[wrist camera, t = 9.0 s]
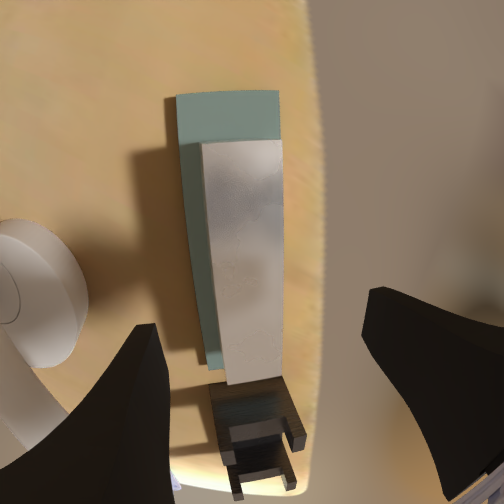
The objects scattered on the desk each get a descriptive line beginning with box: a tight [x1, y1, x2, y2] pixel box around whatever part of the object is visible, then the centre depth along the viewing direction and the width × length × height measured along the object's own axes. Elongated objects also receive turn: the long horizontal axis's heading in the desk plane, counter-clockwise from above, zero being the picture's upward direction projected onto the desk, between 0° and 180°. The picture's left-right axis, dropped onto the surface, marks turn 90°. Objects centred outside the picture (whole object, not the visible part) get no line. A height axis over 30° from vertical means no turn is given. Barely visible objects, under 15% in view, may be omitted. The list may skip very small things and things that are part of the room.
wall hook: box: [0, 219, 89, 451], centre depth 10 cm, size 9×10×10 cm
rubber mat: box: [176, 90, 281, 370], centre depth 16 cm, size 16×5×1 cm, turn 3°
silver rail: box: [199, 138, 284, 385], centre depth 14 cm, size 12×3×3 cm, turn 3°
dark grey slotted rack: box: [209, 376, 307, 501], centre depth 19 cm, size 10×5×6 cm, turn 3°
